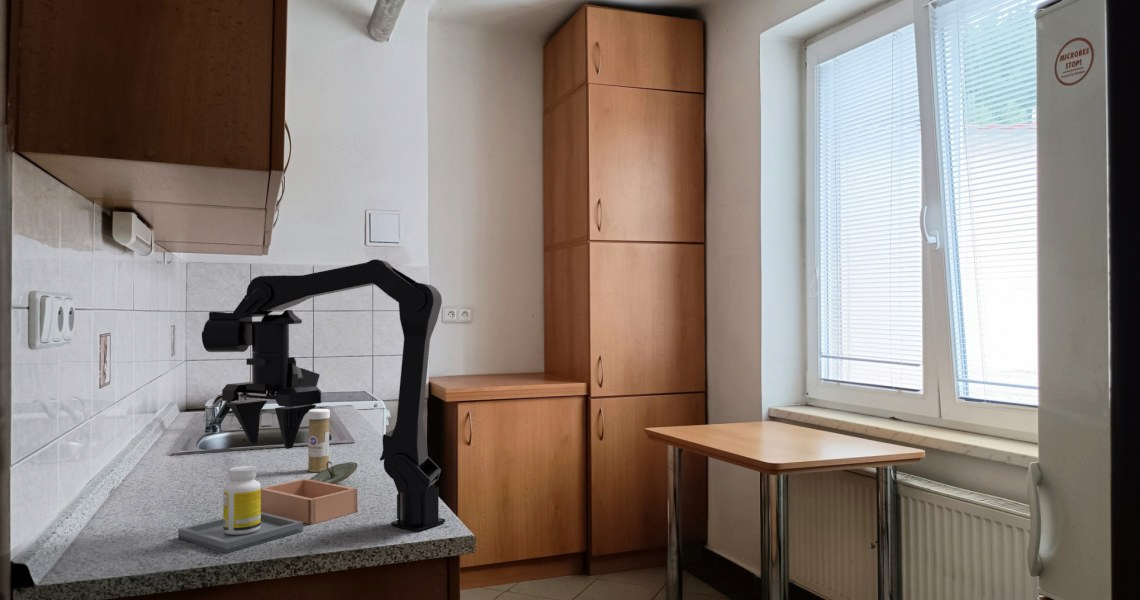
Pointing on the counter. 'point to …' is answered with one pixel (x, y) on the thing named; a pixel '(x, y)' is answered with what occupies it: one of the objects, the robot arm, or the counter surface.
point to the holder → (308, 500)
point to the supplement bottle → (242, 502)
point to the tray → (216, 539)
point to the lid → (336, 473)
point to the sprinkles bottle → (318, 439)
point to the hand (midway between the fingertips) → (271, 446)
